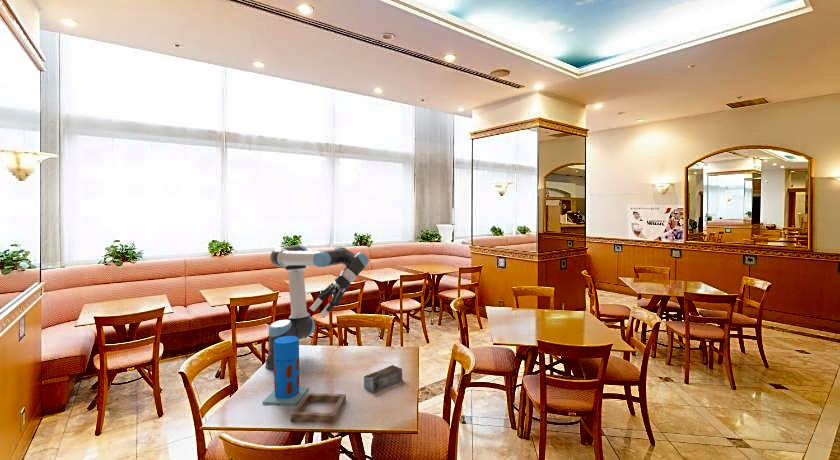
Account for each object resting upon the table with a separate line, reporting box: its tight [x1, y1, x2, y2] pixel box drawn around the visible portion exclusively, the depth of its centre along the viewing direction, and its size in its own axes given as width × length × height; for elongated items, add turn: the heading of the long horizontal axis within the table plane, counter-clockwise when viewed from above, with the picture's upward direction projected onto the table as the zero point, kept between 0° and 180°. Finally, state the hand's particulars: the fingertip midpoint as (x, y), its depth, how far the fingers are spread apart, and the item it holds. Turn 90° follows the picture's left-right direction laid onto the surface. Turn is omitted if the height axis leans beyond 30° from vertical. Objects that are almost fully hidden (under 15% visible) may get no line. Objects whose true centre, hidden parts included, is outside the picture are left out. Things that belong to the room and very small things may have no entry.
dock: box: [290, 392, 347, 424], centre depth 161 cm, size 18×18×3 cm
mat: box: [262, 386, 309, 406], centre depth 173 cm, size 15×15×1 cm
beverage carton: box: [363, 364, 403, 394], centre depth 186 cm, size 8×19×7 cm, turn 136°
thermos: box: [273, 336, 300, 399], centre depth 173 cm, size 11×11×25 cm
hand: (316, 313), depth 182 cm, fingers open, 13 cm apart
